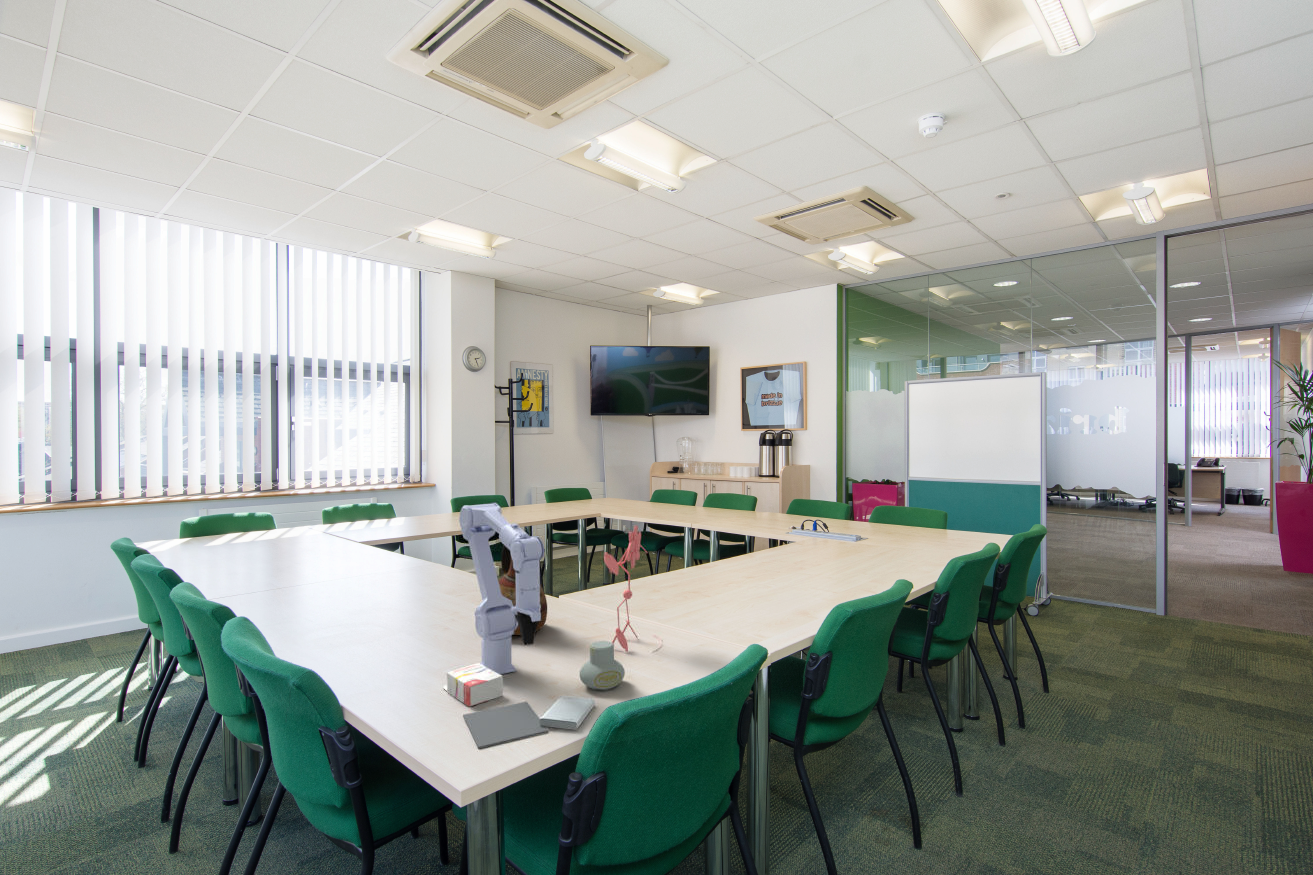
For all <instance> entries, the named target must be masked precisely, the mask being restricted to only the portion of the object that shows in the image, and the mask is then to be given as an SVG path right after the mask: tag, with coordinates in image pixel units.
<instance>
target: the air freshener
mask: <svg viewBox="0 0 1313 875" xmlns="http://www.w3.org/2000/svg"><path fill="white" fill-rule="evenodd" d="M625 674H626V671H625V668H624V666H623V664H622V663H621V662H619V661H618V659H617V660H616V659H615V643H614V644H613V643H612V641H609V640H607V641H606V640H599V641H593V642H592V643H590V645H589V660H588V661H586V662H585V663H584V664H583V665H582V666H581V668H580V670H579V679H580V680H581V683H582V684H583V685H584V686H586V687H588V688H589V689H592V690H595V691H608V690H611V689H613V688H615V687H616V686H618V685H619V684H620V683H621V682H622V681H623V679H624V677H625Z"/></svg>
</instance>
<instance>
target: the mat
mask: <svg viewBox="0 0 1313 875" xmlns="http://www.w3.org/2000/svg"><path fill="white" fill-rule="evenodd" d="M462 718H463V719H464V721H465V724H466V726H467V727H468V730H469V732H470V734H471V736H472V739H473V741H474V743H475V745H476V746H477V749H478V750H479V749H485V748H488V747H493V746H496V745H501V744H504V743H509V741H510V742H513V741H514V742H515V741H519V740H522V739H525V738H530V736H531V737H535V736H538V735H543V734H547V733H549V729H548V728H547V726H541V725H540V724H539V722H540V721H539V720H540V718H541V717H539V716H538V715H537V712H536V711H535V710H534V709H533V708H532V707H531V705H530V704H529V702H527V701H522V702H517V703H512V704H508V705H503V706H499V707H494V708H489V709H485V710H479V711H474V712H470V713H465V714H463V715H462ZM521 738H522V739H521Z"/></svg>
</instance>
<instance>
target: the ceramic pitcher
mask: <svg viewBox="0 0 1313 875" xmlns="http://www.w3.org/2000/svg"><path fill="white" fill-rule="evenodd" d="M500 562H501V563H500V564H501V578H499V579H498V582H499V586H500V590H501V594H502V596H504V597H506V598H508V599H509V600H511V601H512V603H513V606H514V607H515V606H516V570H514V567H513V560H512V557H511V551H510V550H509V549H508V548H507V547H506V546H505V545H504V544H503V545H502V551H501V556H500ZM546 597H547V596H546V594H545V590H544V589H543V586H542V585H541V584H540V605H541V609H540V612H541V621H540V622H539V624H538V626H537V629H536V632H537V631H539V630H541V629H542V628H543V627H544V626H545V624H546V621H547V617H548V602H547V598H546ZM516 612H517V611H516ZM517 614H521V613H520V612H517ZM513 635H515V636H516V635H517V636H521V631H520V627H519V624H518V626H517V628H516V630H514V634H513Z"/></svg>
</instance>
